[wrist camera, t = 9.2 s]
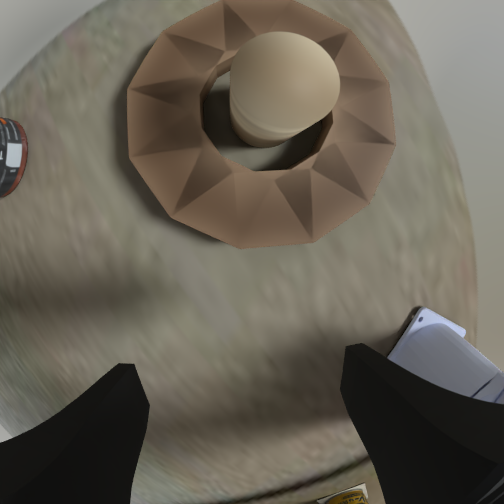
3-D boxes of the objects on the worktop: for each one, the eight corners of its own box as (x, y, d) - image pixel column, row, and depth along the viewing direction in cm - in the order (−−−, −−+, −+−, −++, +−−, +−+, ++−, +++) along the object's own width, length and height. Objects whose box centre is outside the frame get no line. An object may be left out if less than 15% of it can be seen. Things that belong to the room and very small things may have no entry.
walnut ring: (316, 276, 18) (325, 287, 16) (101, 178, 15) (87, 179, 14) (405, 85, 15) (420, 79, 13) (210, -12, 12) (209, -28, 10)
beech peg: (279, 159, 16) (313, 148, 9) (217, 129, 15) (209, 96, 9) (308, 104, 15) (355, 65, 9) (248, 74, 15) (261, 16, 8)
